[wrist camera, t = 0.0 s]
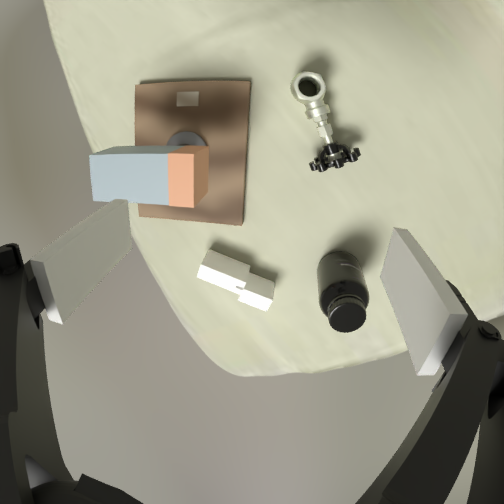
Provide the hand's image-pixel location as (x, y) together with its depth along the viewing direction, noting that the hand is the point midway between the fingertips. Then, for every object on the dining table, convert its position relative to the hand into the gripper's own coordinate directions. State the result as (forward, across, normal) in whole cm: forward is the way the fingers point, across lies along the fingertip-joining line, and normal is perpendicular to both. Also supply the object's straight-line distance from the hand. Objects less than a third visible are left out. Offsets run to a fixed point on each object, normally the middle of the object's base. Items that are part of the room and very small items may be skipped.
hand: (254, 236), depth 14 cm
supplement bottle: (+28, +11, -17) cm, 35 cm away
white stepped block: (+29, -4, -20) cm, 35 cm away
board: (+28, -12, -1) cm, 31 cm away
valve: (+28, +5, +5) cm, 29 cm away
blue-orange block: (+19, -12, -1) cm, 22 cm away
